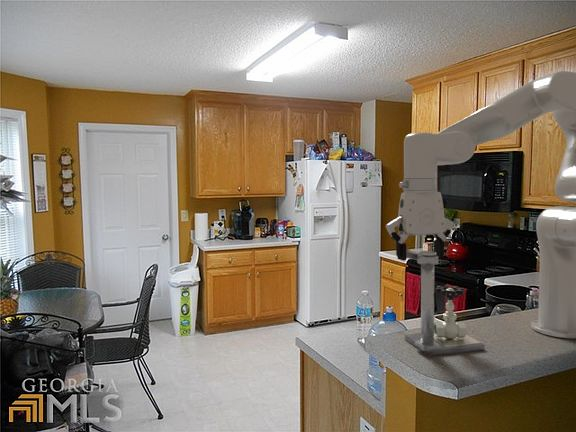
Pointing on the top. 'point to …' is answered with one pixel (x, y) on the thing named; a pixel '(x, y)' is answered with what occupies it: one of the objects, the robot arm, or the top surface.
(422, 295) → the press
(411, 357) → the top surface
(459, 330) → the valve
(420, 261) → the lever
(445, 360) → the top surface
